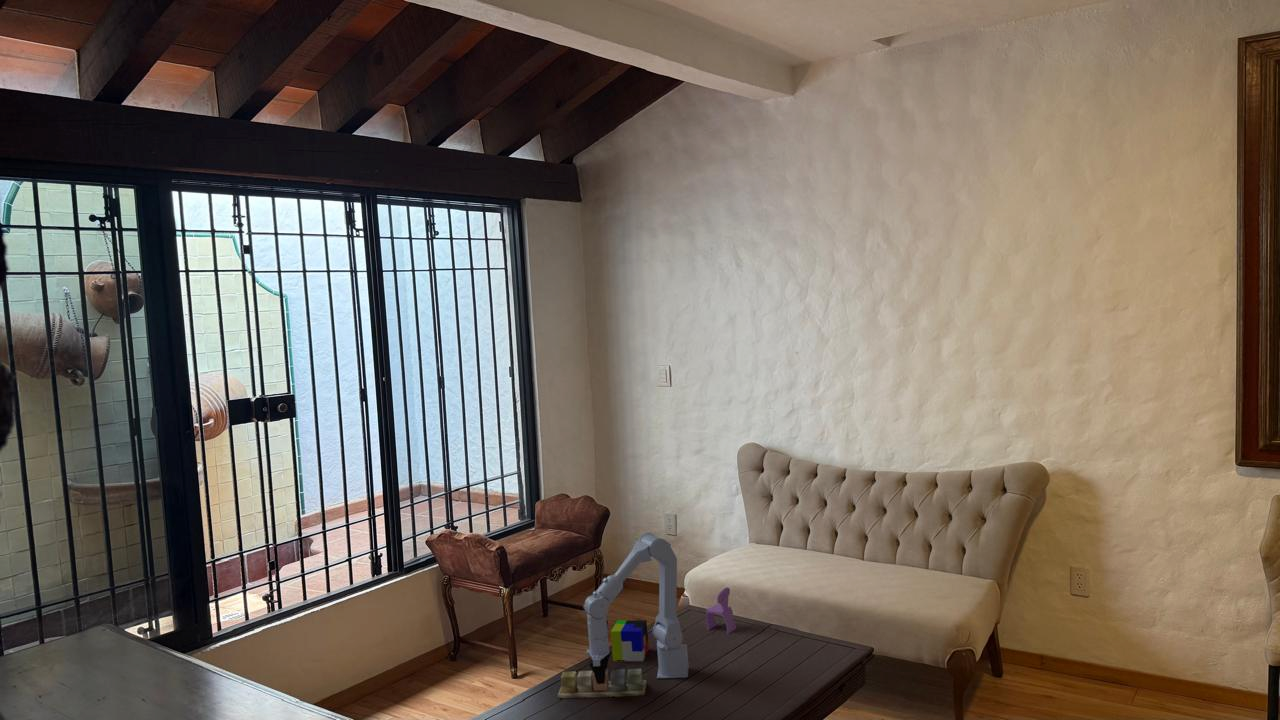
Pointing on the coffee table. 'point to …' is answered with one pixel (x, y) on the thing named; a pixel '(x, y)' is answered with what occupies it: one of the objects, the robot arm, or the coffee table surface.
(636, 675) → the rack
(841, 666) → the coffee table surface
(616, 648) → the puzzle toy
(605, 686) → the terracotta block
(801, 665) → the coffee table surface
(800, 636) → the coffee table surface
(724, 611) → the toy chair
